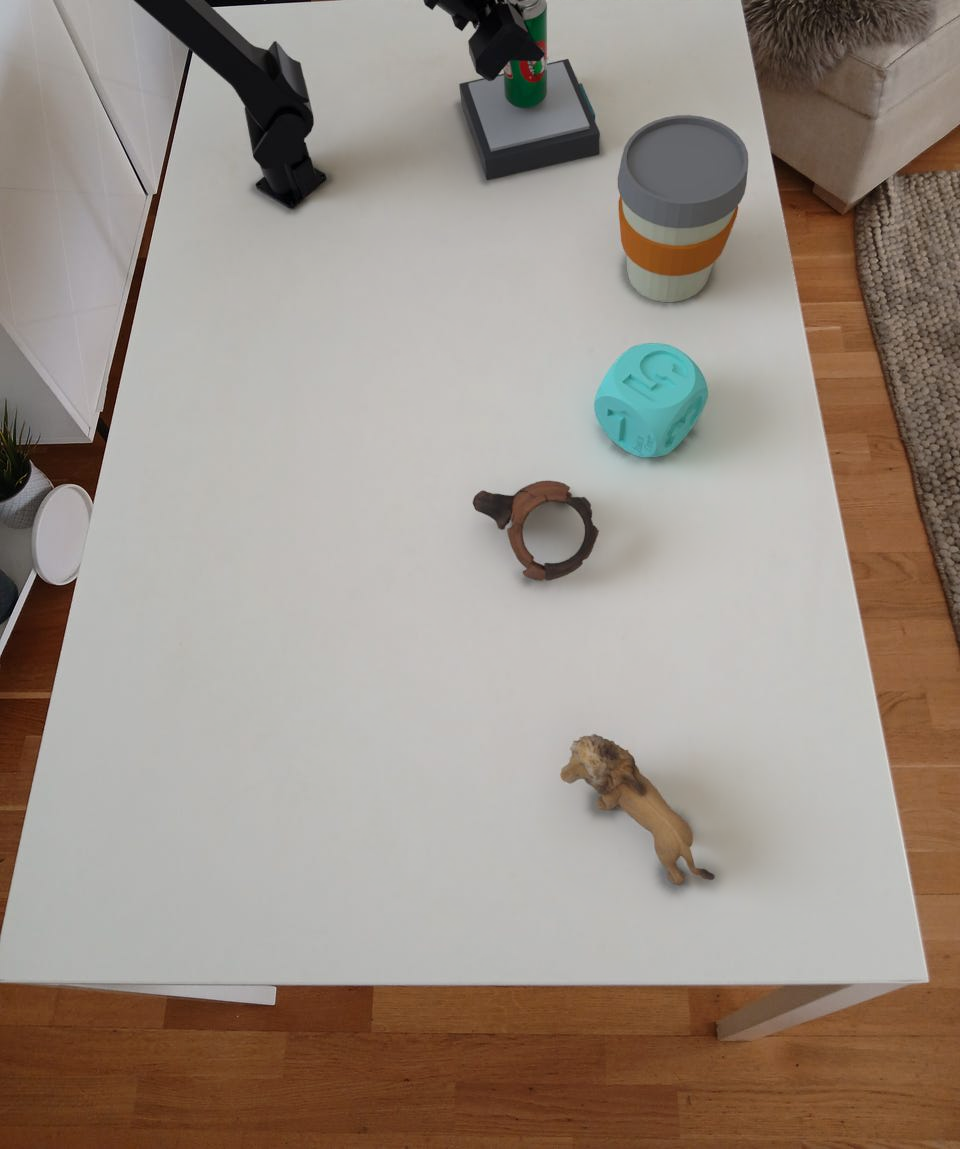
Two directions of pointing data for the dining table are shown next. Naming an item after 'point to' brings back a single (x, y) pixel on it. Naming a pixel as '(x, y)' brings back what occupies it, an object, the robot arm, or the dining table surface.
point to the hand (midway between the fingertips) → (535, 42)
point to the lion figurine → (633, 799)
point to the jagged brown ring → (518, 511)
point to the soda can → (528, 77)
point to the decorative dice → (650, 399)
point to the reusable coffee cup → (678, 202)
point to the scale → (530, 124)
